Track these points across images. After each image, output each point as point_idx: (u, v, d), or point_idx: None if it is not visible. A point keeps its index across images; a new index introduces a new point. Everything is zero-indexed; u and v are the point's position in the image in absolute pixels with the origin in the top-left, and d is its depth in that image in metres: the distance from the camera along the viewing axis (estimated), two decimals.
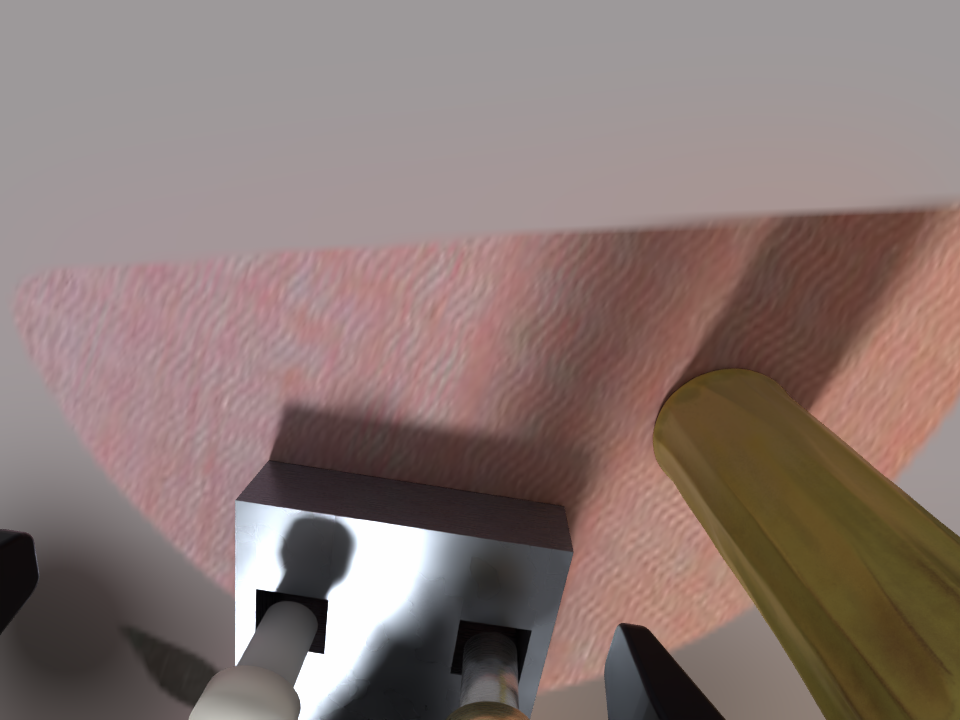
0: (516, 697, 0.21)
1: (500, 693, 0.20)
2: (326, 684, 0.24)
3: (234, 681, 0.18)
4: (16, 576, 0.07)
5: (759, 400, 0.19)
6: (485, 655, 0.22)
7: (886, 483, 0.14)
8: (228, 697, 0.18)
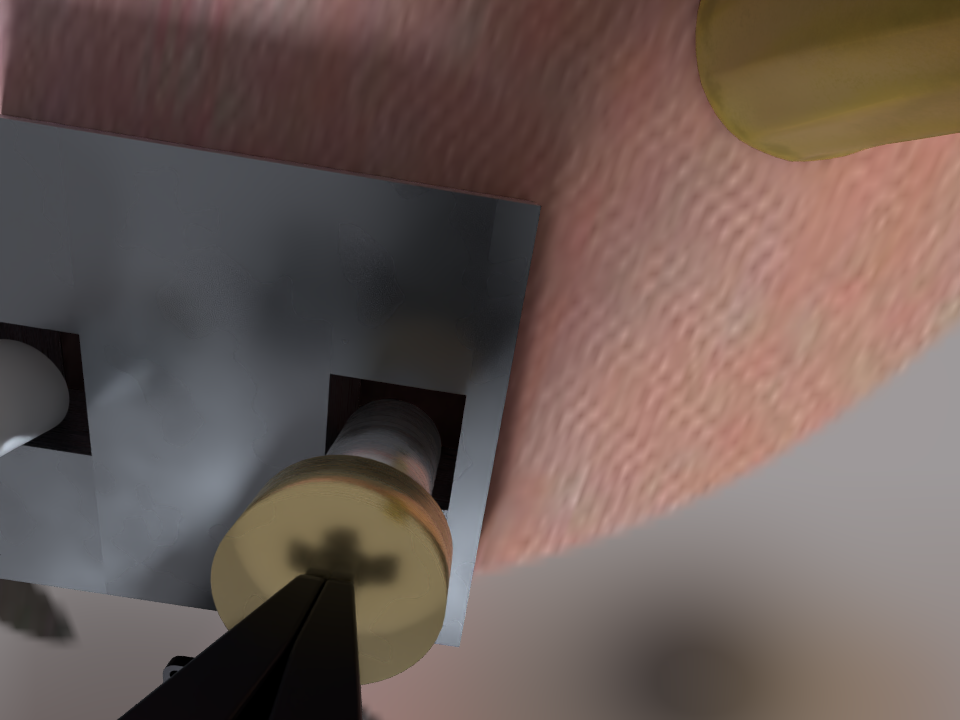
0: (421, 484, 0.10)
1: None
2: (105, 518, 0.13)
3: None
4: None
5: None
6: (369, 421, 0.11)
7: None
8: None
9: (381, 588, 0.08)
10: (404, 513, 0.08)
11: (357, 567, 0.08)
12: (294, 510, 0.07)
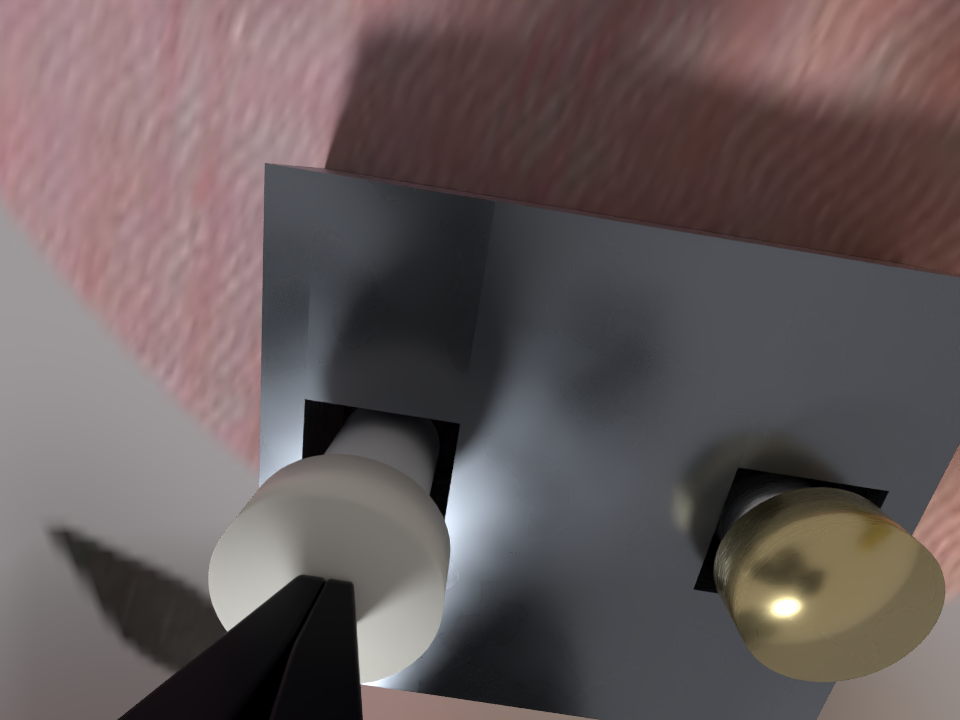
0: None
1: None
2: None
3: (316, 476, 0.08)
4: None
5: None
6: None
7: None
8: (309, 501, 0.07)
9: (890, 600, 0.09)
10: None
11: (875, 583, 0.09)
12: (841, 537, 0.09)
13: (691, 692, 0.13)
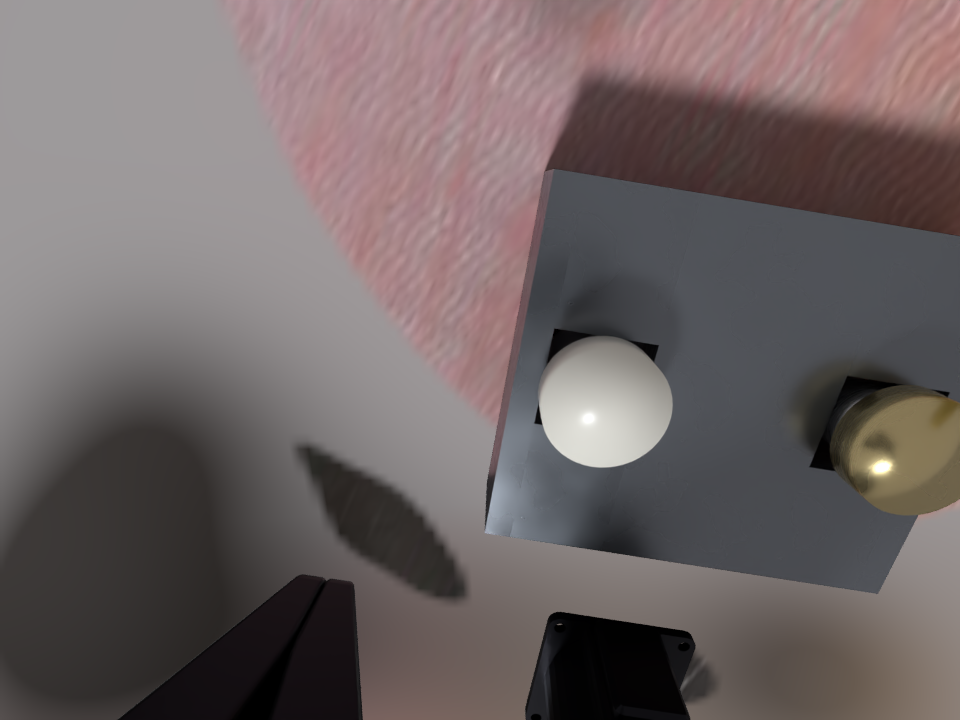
0: None
1: None
2: (624, 488, 0.17)
3: (601, 343, 0.14)
4: None
5: None
6: None
7: None
8: (608, 350, 0.14)
9: (956, 454, 0.14)
10: None
11: (947, 442, 0.14)
12: (927, 409, 0.14)
13: (801, 548, 0.18)
